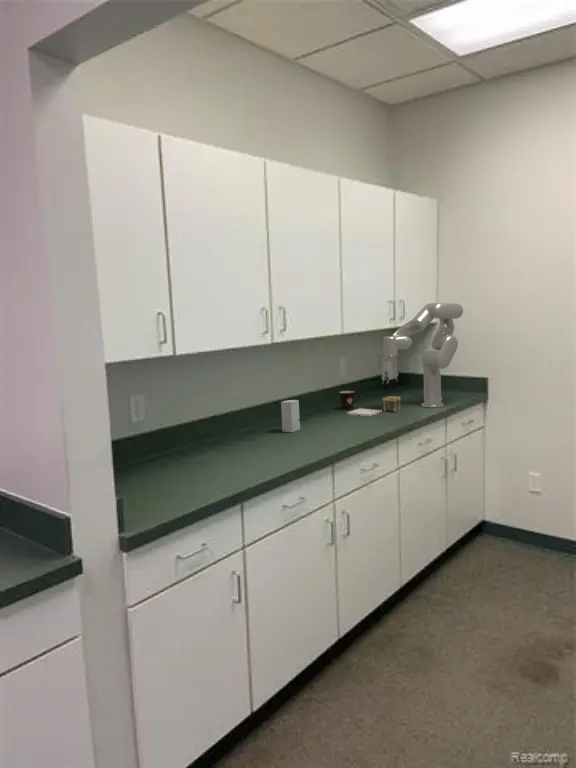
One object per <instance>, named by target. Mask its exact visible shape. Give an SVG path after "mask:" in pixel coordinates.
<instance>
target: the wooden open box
mask: <svg viewBox="0 0 576 768" xmlns="http://www.w3.org/2000/svg"><path fill="white" fill-rule="evenodd" d="M382 402H383V406H382V407H383V410H382V411H383V412H384V413H386V412H387V410H389V411H390V410H391V406H390V405H391V404H390V402H393V413H394V412H401V396H384V397H382ZM385 411H386V412H385Z"/></svg>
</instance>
